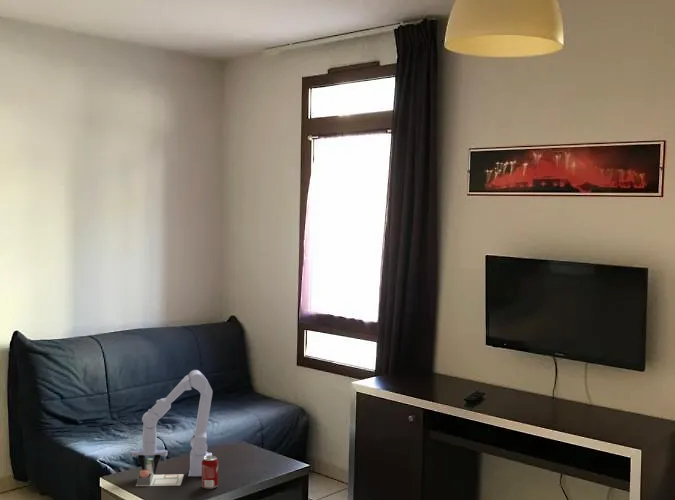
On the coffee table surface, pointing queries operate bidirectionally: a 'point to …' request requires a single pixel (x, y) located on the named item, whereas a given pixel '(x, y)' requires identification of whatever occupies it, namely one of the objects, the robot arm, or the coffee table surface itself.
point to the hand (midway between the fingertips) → (149, 472)
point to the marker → (149, 465)
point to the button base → (144, 480)
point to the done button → (144, 473)
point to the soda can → (210, 472)
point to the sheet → (166, 480)
